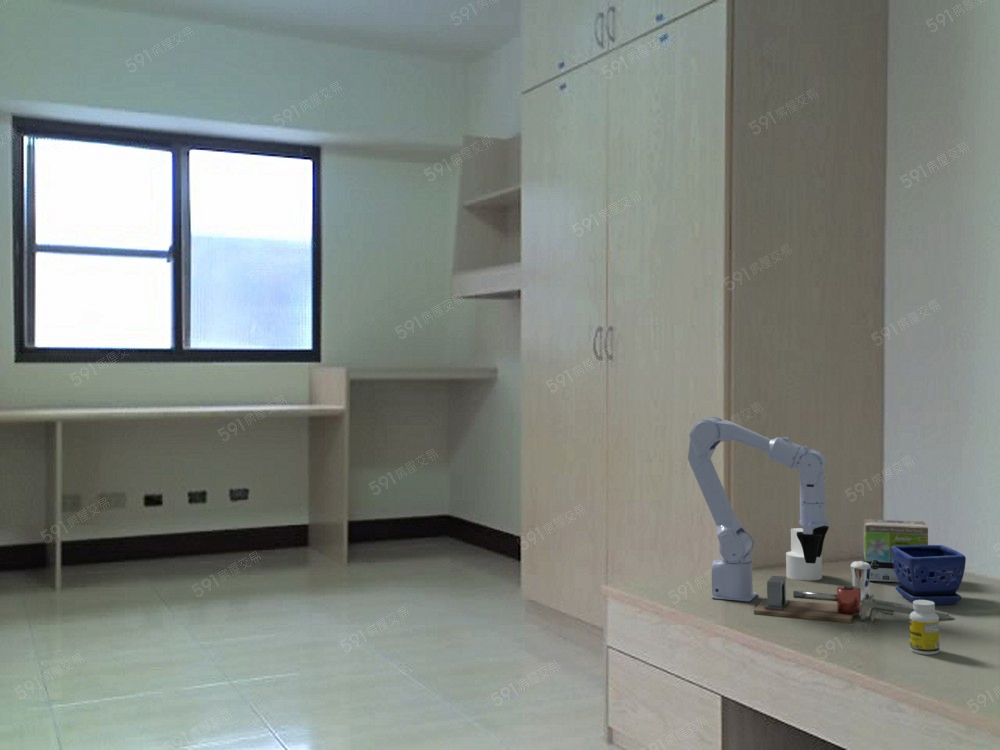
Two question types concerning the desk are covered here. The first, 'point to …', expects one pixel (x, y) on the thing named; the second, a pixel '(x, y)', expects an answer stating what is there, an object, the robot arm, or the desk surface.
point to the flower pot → (928, 572)
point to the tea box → (889, 544)
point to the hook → (837, 598)
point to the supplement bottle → (924, 628)
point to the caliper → (889, 608)
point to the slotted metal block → (776, 593)
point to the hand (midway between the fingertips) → (813, 559)
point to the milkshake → (861, 576)
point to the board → (807, 611)
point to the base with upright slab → (801, 561)
